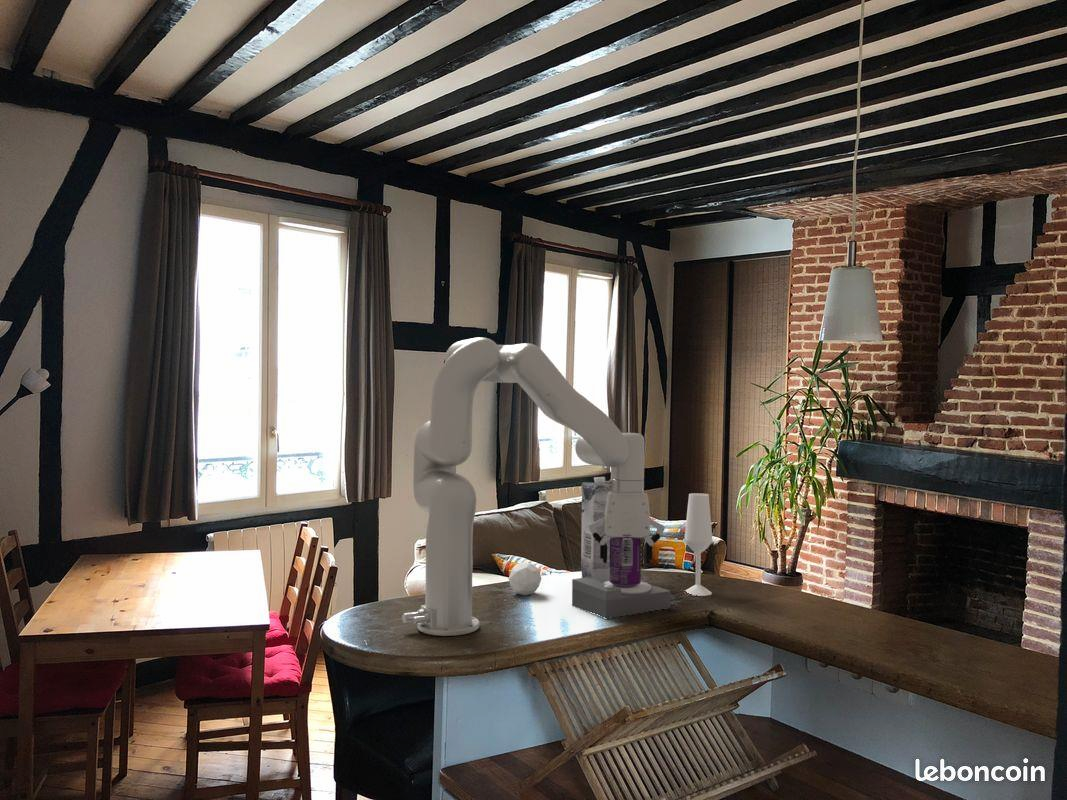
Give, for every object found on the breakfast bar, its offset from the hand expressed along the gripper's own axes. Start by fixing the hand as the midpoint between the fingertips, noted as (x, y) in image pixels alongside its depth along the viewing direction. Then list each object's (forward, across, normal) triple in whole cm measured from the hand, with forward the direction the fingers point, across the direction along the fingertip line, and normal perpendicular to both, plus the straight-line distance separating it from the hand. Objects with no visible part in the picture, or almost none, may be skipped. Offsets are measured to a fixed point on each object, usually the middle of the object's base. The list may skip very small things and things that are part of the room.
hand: (625, 562), depth 181 cm
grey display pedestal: (+10, -1, -1) cm, 10 cm away
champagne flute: (+10, +20, +14) cm, 26 cm away
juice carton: (+10, -2, +24) cm, 26 cm away
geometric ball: (+10, -23, +11) cm, 27 cm away
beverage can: (+5, 0, 0) cm, 5 cm away
